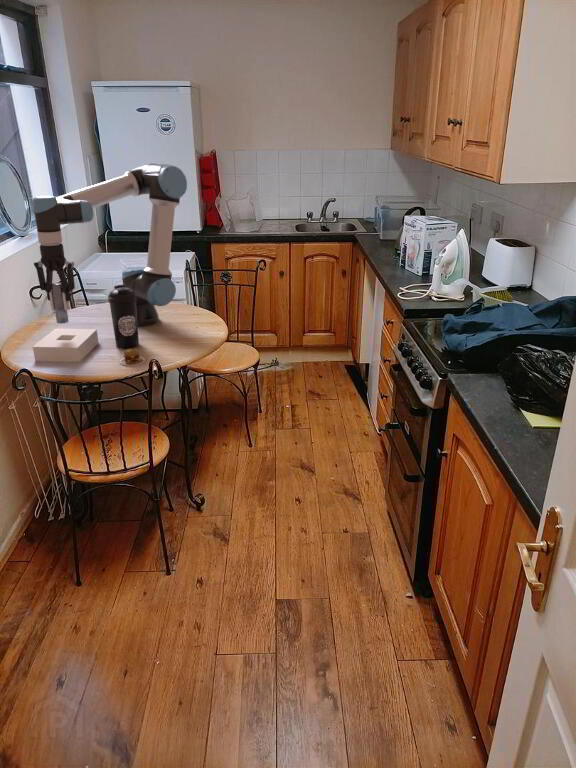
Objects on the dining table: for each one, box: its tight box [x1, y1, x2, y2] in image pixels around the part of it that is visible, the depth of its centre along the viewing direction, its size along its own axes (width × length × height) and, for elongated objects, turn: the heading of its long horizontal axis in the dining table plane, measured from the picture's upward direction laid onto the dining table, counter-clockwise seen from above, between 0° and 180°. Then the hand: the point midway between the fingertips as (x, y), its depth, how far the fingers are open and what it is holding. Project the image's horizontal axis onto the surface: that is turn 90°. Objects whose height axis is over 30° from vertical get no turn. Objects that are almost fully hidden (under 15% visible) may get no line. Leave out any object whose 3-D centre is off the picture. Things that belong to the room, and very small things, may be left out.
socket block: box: [32, 328, 99, 363], centre depth 207 cm, size 16×20×6 cm
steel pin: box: [51, 282, 70, 324], centre depth 200 cm, size 4×4×14 cm
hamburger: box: [119, 348, 146, 367], centre depth 199 cm, size 12×12×6 cm
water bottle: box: [107, 284, 140, 350], centre depth 210 cm, size 10×10×23 cm
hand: (60, 309), depth 201 cm, fingers closed on steel pin, 4 cm apart
